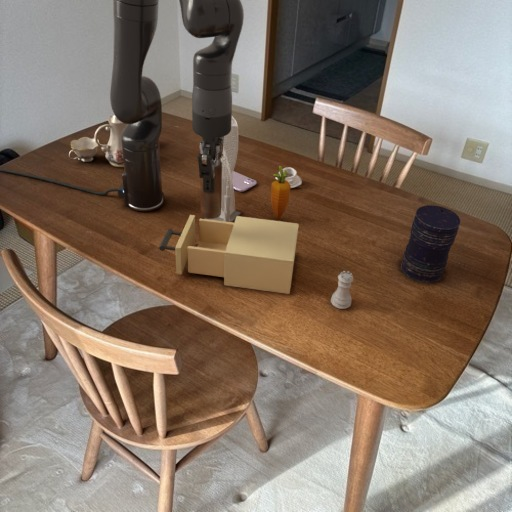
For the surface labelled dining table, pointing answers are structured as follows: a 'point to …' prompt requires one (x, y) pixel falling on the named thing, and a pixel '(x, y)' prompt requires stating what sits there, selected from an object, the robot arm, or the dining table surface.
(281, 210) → the carrot
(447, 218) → the storage jar
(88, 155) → the chinaware
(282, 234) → the cabinet
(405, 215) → the dining table surface
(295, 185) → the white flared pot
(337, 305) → the rook chess piece
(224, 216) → the skyscraper
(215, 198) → the pepper mill
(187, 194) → the dining table surface
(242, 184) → the mobile phone
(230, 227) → the drawer
